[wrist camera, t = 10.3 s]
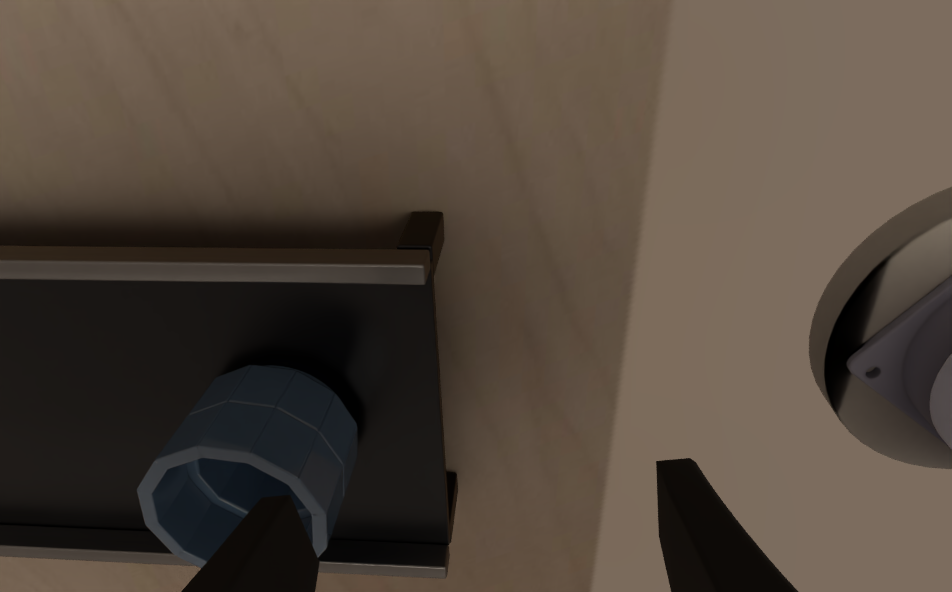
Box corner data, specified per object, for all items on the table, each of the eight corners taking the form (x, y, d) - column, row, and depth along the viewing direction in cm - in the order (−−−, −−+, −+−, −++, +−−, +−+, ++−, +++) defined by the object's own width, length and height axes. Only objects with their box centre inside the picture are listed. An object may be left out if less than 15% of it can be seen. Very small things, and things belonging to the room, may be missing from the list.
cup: (391, 411, 19) (360, 512, 16) (316, 498, 22) (275, 604, 18) (247, 326, 18) (181, 416, 15) (184, 428, 20) (113, 527, 17)
